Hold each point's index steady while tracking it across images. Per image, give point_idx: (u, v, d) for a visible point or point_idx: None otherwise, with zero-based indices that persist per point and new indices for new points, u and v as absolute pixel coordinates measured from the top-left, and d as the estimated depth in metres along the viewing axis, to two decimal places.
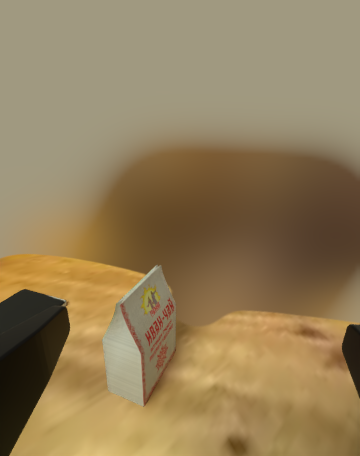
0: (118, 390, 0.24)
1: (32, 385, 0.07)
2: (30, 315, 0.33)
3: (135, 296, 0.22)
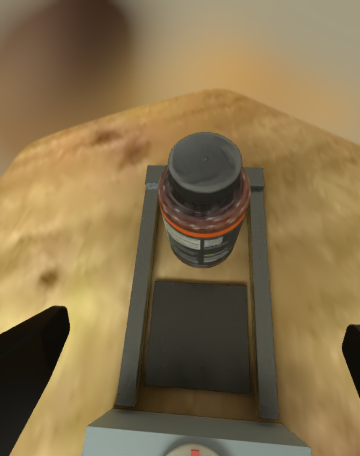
0: None
1: (32, 385, 0.07)
2: None
3: None
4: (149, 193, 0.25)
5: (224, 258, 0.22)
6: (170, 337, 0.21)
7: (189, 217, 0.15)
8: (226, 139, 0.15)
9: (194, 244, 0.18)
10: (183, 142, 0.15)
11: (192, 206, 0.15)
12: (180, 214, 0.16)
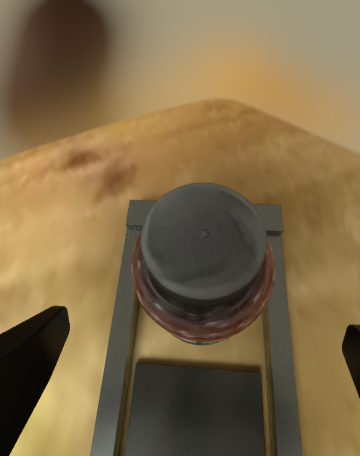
0: None
1: (32, 385, 0.07)
2: None
3: None
4: (130, 237, 0.19)
5: None
6: (155, 453, 0.15)
7: (178, 320, 0.09)
8: (239, 196, 0.09)
9: (187, 340, 0.12)
10: (167, 200, 0.09)
11: (182, 305, 0.09)
12: (163, 313, 0.10)
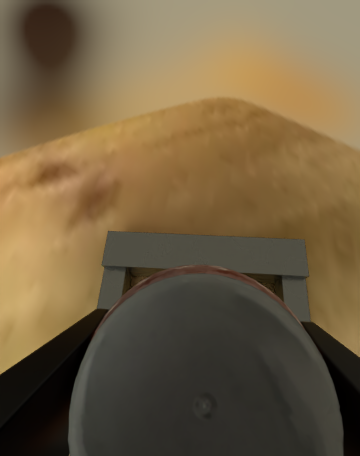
0: None
1: None
2: None
3: None
4: (108, 281, 0.15)
5: None
6: None
7: None
8: (276, 310, 0.04)
9: None
10: (130, 316, 0.04)
11: None
12: None
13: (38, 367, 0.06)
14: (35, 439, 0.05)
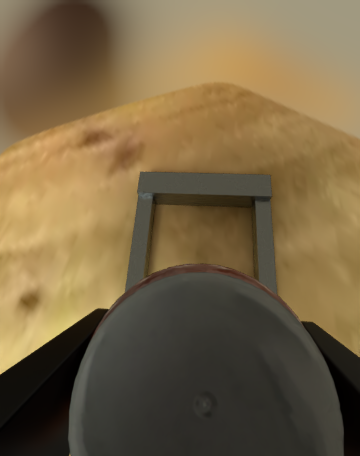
0: None
1: None
2: None
3: None
4: (141, 203, 0.22)
5: None
6: None
7: None
8: (276, 309, 0.04)
9: None
10: (130, 315, 0.04)
11: None
12: None
13: (38, 367, 0.06)
14: (35, 439, 0.05)
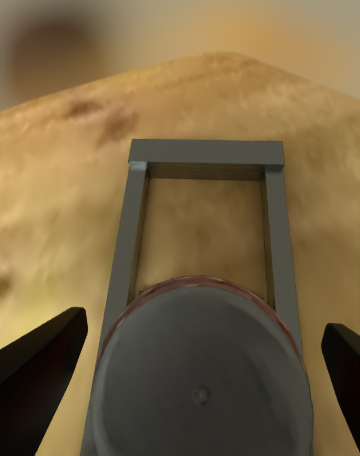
0: None
1: (54, 387, 0.07)
2: None
3: None
4: (133, 174, 0.19)
5: None
6: None
7: None
8: (260, 317, 0.05)
9: None
10: (140, 322, 0.05)
11: None
12: None
13: (2, 364, 0.06)
14: None
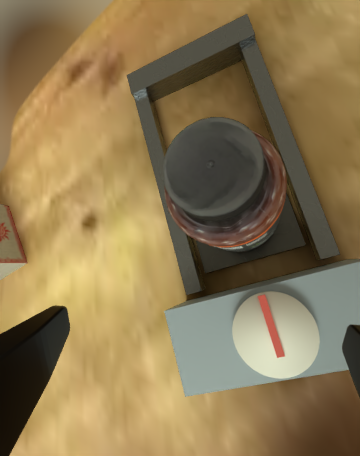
0: (3, 274, 0.27)
1: (32, 385, 0.07)
2: None
3: None
4: (140, 103, 0.24)
5: (273, 232, 0.19)
6: None
7: (218, 235, 0.12)
8: (228, 121, 0.10)
9: (235, 248, 0.15)
10: (173, 149, 0.11)
11: (217, 223, 0.12)
12: (206, 234, 0.12)
13: None
14: None
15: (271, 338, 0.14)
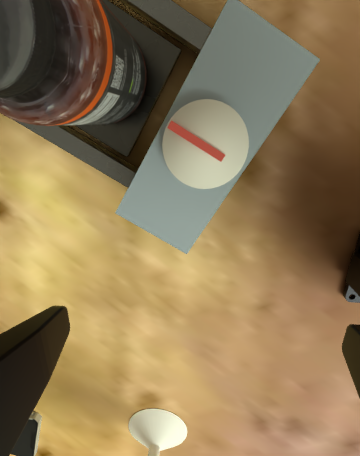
0: None
1: (32, 385, 0.07)
2: None
3: None
4: None
5: (143, 62, 0.16)
6: None
7: (68, 95, 0.10)
8: None
9: (110, 101, 0.13)
10: None
11: (51, 81, 0.09)
12: (58, 105, 0.10)
13: None
14: None
15: (205, 151, 0.14)
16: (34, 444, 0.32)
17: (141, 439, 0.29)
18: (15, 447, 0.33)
